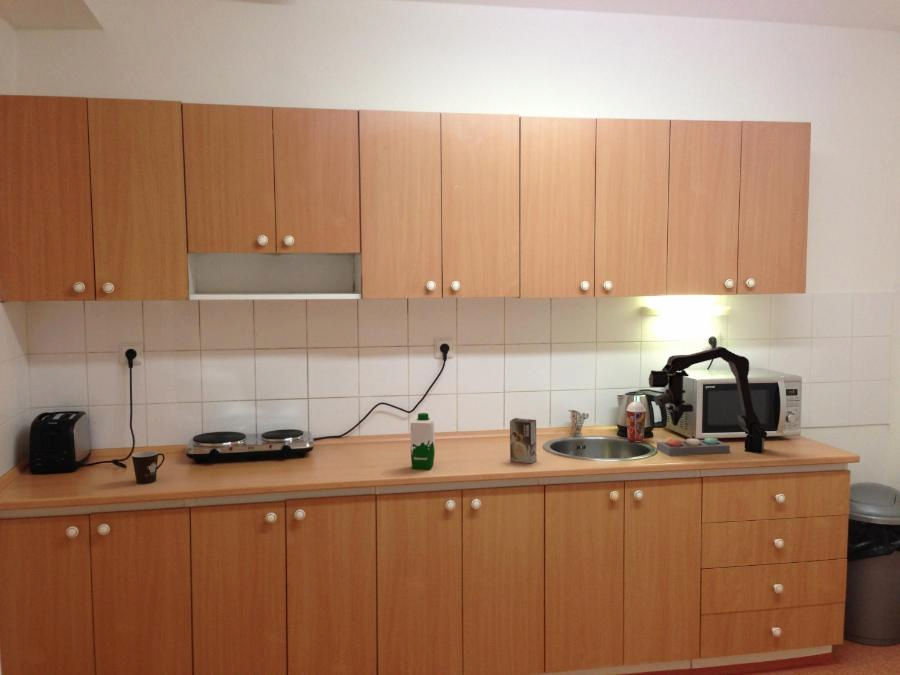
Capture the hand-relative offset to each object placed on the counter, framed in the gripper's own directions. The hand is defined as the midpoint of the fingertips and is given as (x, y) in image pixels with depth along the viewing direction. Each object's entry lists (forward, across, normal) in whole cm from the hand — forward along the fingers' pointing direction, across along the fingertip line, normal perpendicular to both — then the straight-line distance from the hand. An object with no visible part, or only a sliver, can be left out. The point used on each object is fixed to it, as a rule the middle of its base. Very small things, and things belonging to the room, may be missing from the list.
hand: (674, 425), depth 285 cm
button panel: (+11, 0, +8) cm, 14 cm away
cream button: (+9, 0, +8) cm, 12 cm away
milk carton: (+11, +3, -103) cm, 104 cm away
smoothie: (+11, -21, -7) cm, 25 cm away
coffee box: (+11, +1, -64) cm, 65 cm away
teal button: (+9, 0, +16) cm, 18 cm away
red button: (+9, 0, 0) cm, 9 cm away
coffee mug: (+11, +3, -201) cm, 201 cm away
